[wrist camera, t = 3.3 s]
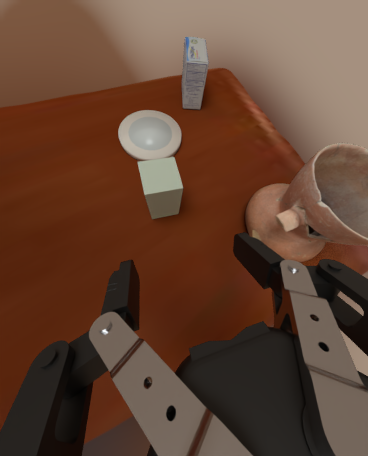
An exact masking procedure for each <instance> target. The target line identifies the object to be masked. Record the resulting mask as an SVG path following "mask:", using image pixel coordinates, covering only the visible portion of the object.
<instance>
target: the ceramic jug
mask: <svg viewBox="0 0 368 456" xmlns="http://www.w3.org/2000/svg"><path fill="white" fill-rule="evenodd" d="M245 221H246V226H247V230H248V233H249V236H251V237H254V238H257V239H259V240H260V241H262V242H263V243H264V244H266V245H267V246H268V247H269V248H271V249H272V250H273V251H275V252H276V253H277V254H279V255H280V256H281V257H282V258H284V259H285V260H294V261H297V262H304V261H307V260H309V259H311V258H313V257H315V256H316V255H317V254H318V253H319V252H320V251H321V250H322V249H323V247H324V245H325V243H326V242H332V243H340V244H349V245H368V149H366V148H365V147H361V146H356V145H354V144H353V145H351V144H348V143H338V144H337V143H336V144H332V145H329V146H327V147H325V148H323V149H321V150H320V151H319V152H318V153H316V154H315V155H314V156H313V157H312V158H311V159H310V160H309V161H308V162H307V163H306V164H305V165H304V166H303V168H302V169H301V170H300V171H299V172H298V174H297V175H296V176H295V178H294V179H293V181H292V182H291V184H290V185H289V184H272V185H268V186H266V187H263V188H261V189H260V190H258V191H257V192H256V193H255V194H254V195H253V196H252V198H251V199H250V201H249V203H248V205H247V208H246V213H245Z"/></svg>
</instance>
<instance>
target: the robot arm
mask: <svg viewBox="0 0 368 456" xmlns="http://www.w3.org/2000/svg"><path fill="white" fill-rule="evenodd" d="M233 252H234V255H235V257H236V258H237V259H238V260H239V261H240V262H241V264H242V265H243V266H244V267H245V268H246V269H247V270H248V272H249V273H250V274H251V275H252V276H253V277H254V278H255V280H256V281H257V282H258V283H259V284H260V285H261V286H262V288H263V289H267V288H271V289H272V300H273V310H274V327H267V326H266V324H265V323H264V321H262V322H260V323H257V324H254V325H252V326H249V327H246V328H245V329H244V330H243V331H241V332H240V333H239V334H238V335H237V336H235V337H234V338H233V339H232V340H227V341H208V342H205V343H203V344H200V345H197V346H194V347H192V348H189V351H190V355H189V356H188V357H187V358H186V359H185V360H184V361H183V362H182V363H181V364H180V366H179V367H178V369H177V370H176V372H175V373H174V372H173V371H172V370H171V369H170V368H169V367H168V366H167V365H166V364H165V363H164V361H163V360H162V359H161V358H160V357H159V356H158V355H157V354H156V353H155V352H154V351H153V349H152V348H151V347H150V346H149V345H148V344H147V343H146V342H145V341H144V340H143V339H140V338H139V337H138V336H137V335H136V334H135V333H134V331H136V330H139V291H140V282H139V276H138V273H137V270H136V268H135V265H134V262H133V260H128V261H124V262H121V263H120V269H119V270H118V271H114V273H113V274H112V275H111V277H110V279H109V283H108V287H107V292H106V296H105V300H104V304H103V308H102V312H101V316H100V317H99V318H98V319H97V320H96V321H95V322H94V323H93V325H92V326H91V328H90V330H89V331H88V332H87V333H85V334H84V335H82V336H80V337H79V338H77V339H75V340H74V341H72V342H70V343H69V344H68V343H67V342H66V341H57V342H54V343H52V344H51V345H49V346H48V347H46V348H45V349H44V350H43V351H42V352H41V353H40V354H39V355H38V356H37V357H36V358H35V360H34V361H33V363H32V364H31V366H30V368H29V370H28V373H27V375H26V377H25V379H24V381H23V384H22V386H21V388H20V390H19V392H18V394H17V397H16V399H15V401H14V403H13V405H12V407H11V410H10V412H9V414H8V416H7V418H6V421H5V423H4V425H3V427H2V429H1V431H0V456H82V450H83V444H84V438H85V432H86V425H87V419H88V413H89V406H90V400H91V394H92V387H93V381H94V380H96V379H97V378H98V377H100V376H101V375H102V374H104V373H105V372H106V371H108V370H109V371H110V373H111V378H112V380H113V381H114V383H115V385H116V387H117V388H118V390H119V392H120V393H121V395H122V397H123V398H124V400H125V402H126V403H127V405H128V407H129V408H130V410H131V411H132V413H133V415H134V416H135V418H136V420H137V421H138V423H139V425H140V426H141V428H142V430H143V431H144V433H145V434H146V436H147V438H148V440H149V441H150V443H151V445H150V448H149V451H148V454H147V456H368V376H366V375H364V374H363V373H361V372H359V371H357V370H356V367H355V365H354V363H353V360H352V358H351V355H350V353H349V351H348V349H347V346H346V344H345V341H344V339H343V337H342V335H341V332H340V330H341V331H343V333H344V334H346V335H347V336H348V337H349V338H350V339H351V340H352V341H353V342H354V343H355V344H356V345H357V346H358V347H359V348H360V349H361V350H362V351H363V352H364V353H365V354H366V355H367V356H368V279H367V278H365V277H364V276H362V275H360V274H359V273H357V272H355V271H354V270H352V269H351V268H349V267H347V266H346V265H344V264H342V263H340V262H337V261H334V260H330V259H323V260H320V261H319V263H318V265H317V266H304V265H303V264H301V263H299V262H297V261H294V260H285V259H284V258H282V257H281V256H280V255H279V254H277V253H276V252H275V251H273V250H272V249H271V248H269V247H268V246H267V245H266V244H264V243H263V242H262V241H260V240H259V239H257V238H254V237H251V236H249V235H248V234H247V233H245V232H243V233H239V234H236V235H235V236H234V247H233ZM340 291H341V292H343V293H344V294H345V295H347V296H348V297H349V298H351V299H352V300H353V301H354V302H356V303H357V304H358V305H360V306H361V308H362V309H363V311H364V316H362V315H361V314H360V313H358V312H357V311H356V310H355V309H353V308H352V307H351V306H350V305H348V304H347V303H346V302H345V301H343V300H342V299H341V298H340V297H338V296H337V295H338V293H339V292H340ZM339 329H340V330H339Z"/></svg>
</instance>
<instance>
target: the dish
mask: <svg viewBox="0 0 368 456" xmlns="http://www.w3.org/2000/svg"><path fill="white" fill-rule="evenodd" d="M118 134H119V139H120V142H121V145H122V147H123V149H124V150H125V151H126V153H127V154H129V155H130V156H131V157H133V158H134V159H136V160H139V161H148V160H155V159H162V158H169V157H172V156H174V155H175V154H176V153H177V151H178V150H179V147H180V144H181V130H180V127H179V126H178V124H177V123H176V121H175V120H174V119H172V118H171V117H170V116H168V115H166V114H164V113H162V112H158V111H153V110H144V111H138V112H135V113H133V114H131V115H129V116H127V117H126V118H125V119H124V120H123V121H122V123H121V125H120V127H119V132H118Z"/></svg>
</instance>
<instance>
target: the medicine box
mask: <svg viewBox="0 0 368 456" xmlns="http://www.w3.org/2000/svg"><path fill="white" fill-rule="evenodd" d="M208 64H209V63H208V56H207V48H206V40H205V39H202V38H196V37H185V43H184V57H183V72H182V99H183V108H184V109H198V110H199V109H200V108H201V103H202V97H203V92H204V86H205V81H206V75H207V70H208Z"/></svg>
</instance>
